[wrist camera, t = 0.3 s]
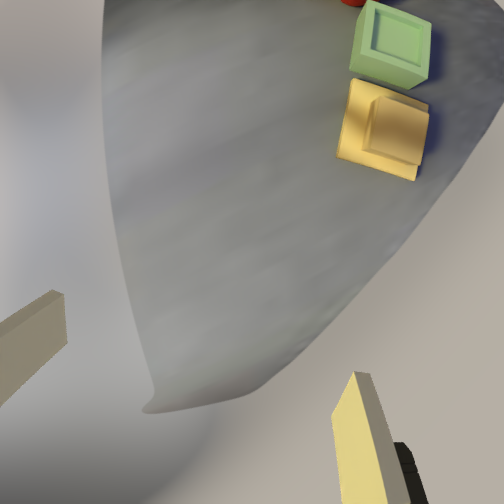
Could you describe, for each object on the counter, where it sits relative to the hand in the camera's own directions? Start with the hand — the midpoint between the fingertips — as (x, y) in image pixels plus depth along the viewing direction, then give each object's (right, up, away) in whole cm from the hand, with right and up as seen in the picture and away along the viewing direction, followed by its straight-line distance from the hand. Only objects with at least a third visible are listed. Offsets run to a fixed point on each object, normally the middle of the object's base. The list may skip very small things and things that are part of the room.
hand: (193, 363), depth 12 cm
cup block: (+19, +30, +19) cm, 40 cm away
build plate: (+18, +19, +21) cm, 34 cm away
